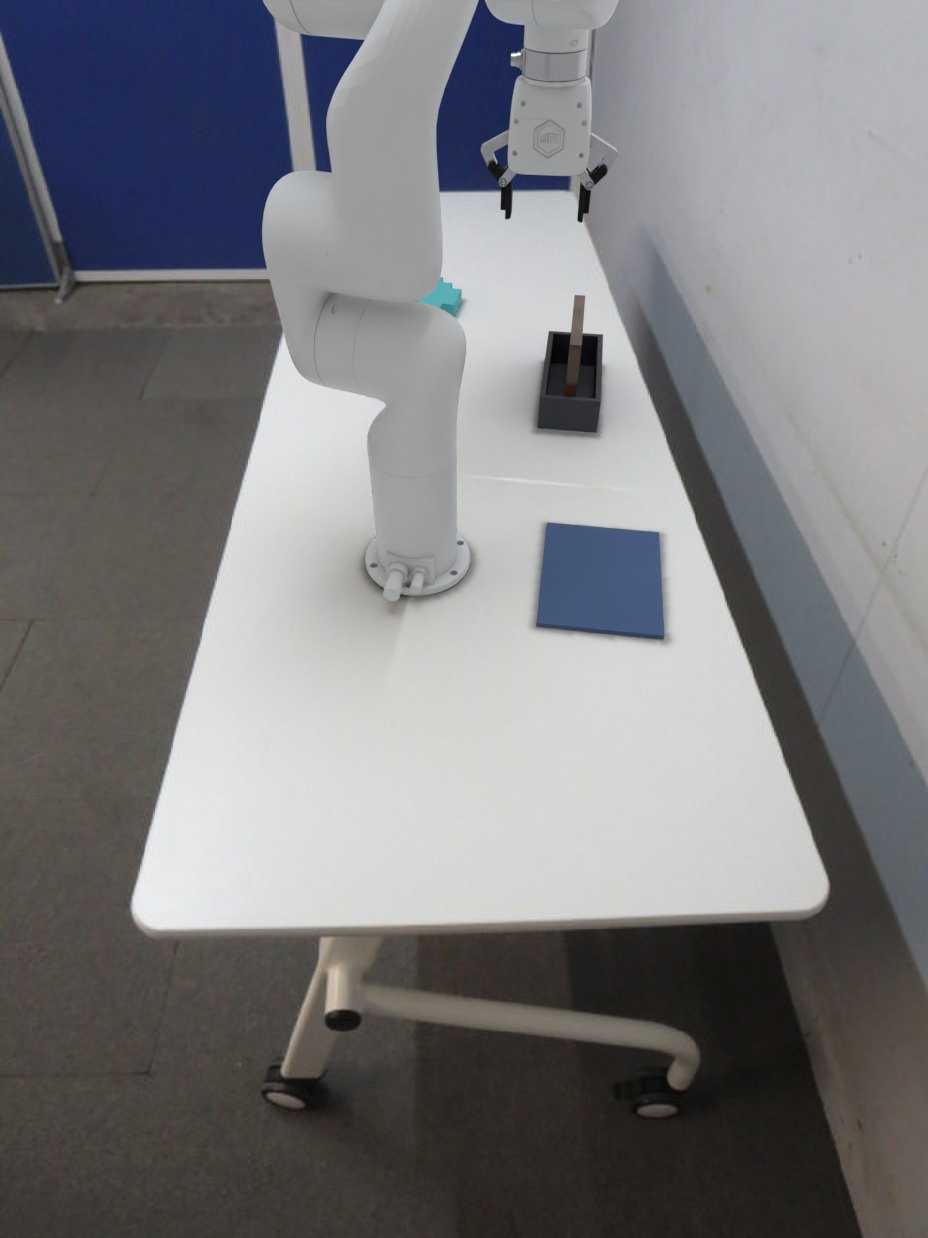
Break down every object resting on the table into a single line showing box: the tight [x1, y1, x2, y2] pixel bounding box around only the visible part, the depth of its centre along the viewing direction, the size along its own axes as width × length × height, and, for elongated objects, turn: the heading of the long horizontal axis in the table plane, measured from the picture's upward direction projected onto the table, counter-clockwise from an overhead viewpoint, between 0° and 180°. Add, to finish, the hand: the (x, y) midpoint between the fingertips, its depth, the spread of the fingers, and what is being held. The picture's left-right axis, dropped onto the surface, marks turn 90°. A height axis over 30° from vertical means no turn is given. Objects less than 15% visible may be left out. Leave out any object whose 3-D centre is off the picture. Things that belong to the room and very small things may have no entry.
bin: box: [537, 330, 604, 434], centre depth 122 cm, size 21×9×6 cm, turn 172°
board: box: [565, 294, 586, 397], centre depth 119 cm, size 16×2×12 cm, turn 172°
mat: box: [535, 522, 665, 640], centre depth 95 cm, size 18×14×1 cm
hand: (544, 217), depth 107 cm, fingers open, 9 cm apart
